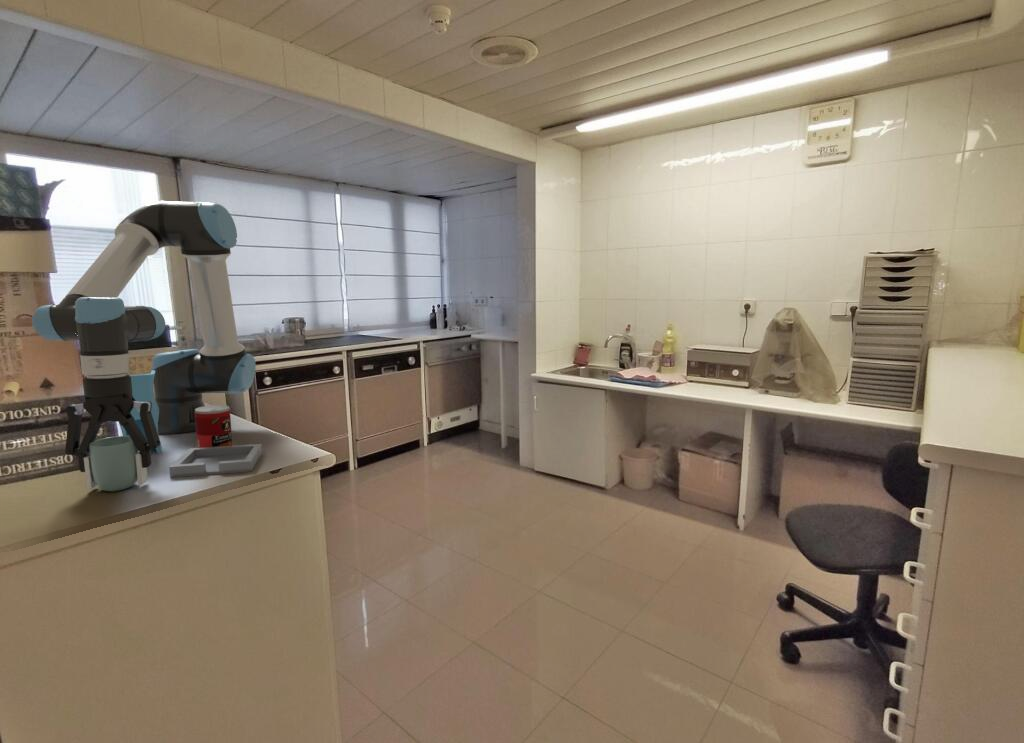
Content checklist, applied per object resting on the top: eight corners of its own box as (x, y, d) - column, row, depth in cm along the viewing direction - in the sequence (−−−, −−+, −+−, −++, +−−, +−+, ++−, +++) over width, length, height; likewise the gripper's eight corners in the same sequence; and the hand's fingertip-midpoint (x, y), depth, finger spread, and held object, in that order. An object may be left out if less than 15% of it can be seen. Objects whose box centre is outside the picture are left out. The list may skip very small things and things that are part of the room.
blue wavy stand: (162, 444, 132) (155, 370, 129) (161, 452, 125) (154, 374, 122) (124, 449, 127) (116, 372, 124) (122, 457, 121) (114, 376, 118)
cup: (103, 498, 97) (98, 449, 96) (87, 489, 101) (82, 442, 100) (148, 486, 104) (144, 439, 102) (132, 478, 108) (127, 433, 106)
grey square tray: (190, 457, 122) (189, 448, 121) (262, 452, 126) (261, 443, 126) (170, 477, 108) (169, 467, 108) (251, 471, 113) (250, 461, 113)
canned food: (217, 455, 124) (214, 412, 122) (189, 452, 126) (186, 410, 124) (239, 446, 132) (237, 405, 130) (213, 444, 133) (210, 404, 131)
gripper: (30, 380, 92) (45, 496, 96) (160, 376, 98) (170, 486, 102) (53, 373, 99) (66, 482, 103) (174, 371, 106) (182, 473, 109)
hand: (118, 484), depth 102 cm, fingers closed on cup, 8 cm apart
